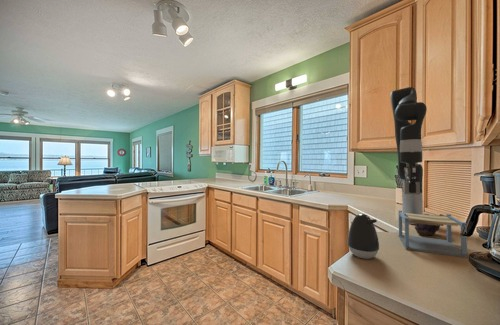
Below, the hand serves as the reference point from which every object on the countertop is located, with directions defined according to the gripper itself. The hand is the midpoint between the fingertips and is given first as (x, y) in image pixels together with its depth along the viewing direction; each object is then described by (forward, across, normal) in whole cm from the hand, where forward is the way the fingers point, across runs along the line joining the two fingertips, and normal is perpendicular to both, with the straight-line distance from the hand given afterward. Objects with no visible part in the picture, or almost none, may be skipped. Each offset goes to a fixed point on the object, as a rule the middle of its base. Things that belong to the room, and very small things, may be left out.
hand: (411, 191), depth 89 cm
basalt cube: (+1, 0, 0) cm, 1 cm away
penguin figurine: (+22, +22, -18) cm, 36 cm away
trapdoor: (+14, -2, +6) cm, 15 cm away
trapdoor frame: (+22, -1, +6) cm, 22 cm away
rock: (+22, -20, +9) cm, 31 cm away
